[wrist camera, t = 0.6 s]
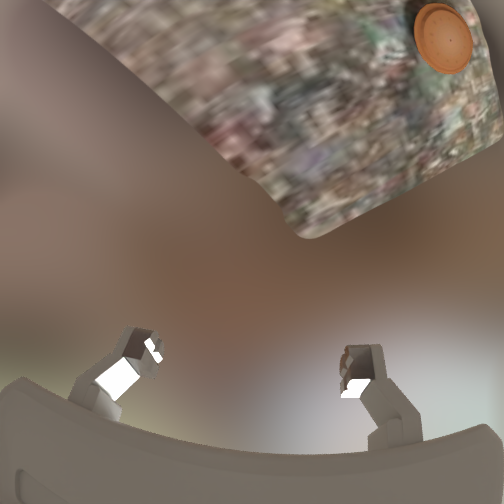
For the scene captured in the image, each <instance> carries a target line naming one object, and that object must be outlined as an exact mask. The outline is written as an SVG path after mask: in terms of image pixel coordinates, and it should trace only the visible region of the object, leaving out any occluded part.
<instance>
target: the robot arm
mask: <svg viewBox="0 0 504 504" xmlns="http://www.w3.org/2000/svg"><path fill="white" fill-rule="evenodd" d="M158 337H159V334H158V333H157V331H154V330H148V329H143V328H138V327H132V326H126V327H125V328H124V330H123V332H122V334H121V336H120V338H119V340H118V342H117V344H116V347H115V349H114V351H113V353H112V354H111V353H109V354H108V355H107V356H105V357H104V358H103V359H101V360H100V361H99V362H98V363H96V364H95V365H93V366H92V367H91V368H90V369H88V370H87V371H85V372H84V373H83V374H81V375H80V376H79V377H77V379H76V381H75V383H74V386H73V388H72V390H71V392H70V395H69V397H68V399H67V400H66V399H64V398H62V397H60V396H58V395H56V394H55V393H52V392H51V391H49V390H47V389H45V388H43V387H42V386H40V385H38V384H36V383H35V382H33V381H31V380H30V379H28V378H26V377H20V378H18V379H16V380H14V381H13V382H11V383H10V384H8V385H7V386H6V387H4V388H3V389H2V391H1V392H0V504H501V502H502V495H503V486H504V485H503V484H504V449H503V444H502V441H501V439H500V438H499V436H498V435H497V434H496V433H495V432H494V431H493V430H492V429H491V428H490V427H489V426H488V425H487V424H480V425H477V426H474V427H471V428H468V429H465V430H462V431H460V432H456V433H453V434H450V435H446V436H443V437H439V438H435V439H432V440H428V441H423V434H422V424H421V416H420V413H419V412H418V411H417V409H416V408H415V407H414V406H413V405H412V403H411V402H410V401H409V400H408V399H407V397H406V396H405V395H404V394H403V393H402V392H401V390H400V389H399V388H398V387H397V386H396V384H395V383H394V382H393V381H392V380H391V379H390V378H388V379H387V373H386V366H385V360H384V354H383V349H382V346H381V345H380V344H372V345H369V344H368V345H347V346H346V347H345V349H344V351H345V354H343V355H342V357H341V360H340V376H341V377H342V378H343V379H342V381H341V383H340V390H341V397H359V399H360V400H361V402H362V403H363V405H364V406H365V408H366V409H367V411H368V412H369V414H370V415H371V417H372V419H373V420H374V422H375V423H376V425H377V426H378V429H376V430H375V431H374V432H372V433H371V434H370V435H369V436H368V451H364V452H354V453H341V454H318V455H294V454H272V453H259V452H248V451H239V450H232V449H225V448H218V447H212V446H207V445H202V444H196V443H192V442H186V441H182V440H178V439H174V438H170V437H166V436H162V435H159V434H155V433H152V432H148V431H145V430H142V429H139V428H135V427H132V426H129V425H127V424H124V423H121V422H118V421H119V418H120V415H121V412H122V407H121V406H120V405H119V404H117V403H116V402H115V400H116V399H117V398H118V397H119V396H120V395H121V394H122V393H123V392H125V391H126V390H127V389H128V388H129V387H130V386H131V385H132V384H133V383H134V382H135V381H136V380H137V379H138V378H139V377H140V376H142V377H147V378H152V379H155V378H156V375H157V372H158V369H159V366H158V362H159V361H160V360H162V358H163V355H164V344H163V342H162V340H160V339H159V338H158Z"/></svg>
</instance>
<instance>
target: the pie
mask: <svg viewBox="0 0 504 504" xmlns="http://www.w3.org/2000/svg"><path fill="white" fill-rule="evenodd" d="M413 29H414V38H415V42H416V46H417V49H418V51H419V53H420V54H421V56H422V58H423V59H424V60H425V61H426V62H427V63H428V64H429V65H430V66H431V67H432V68H434V69H435V70H436V71H438V72H441V73H444V74H455V73H458V72H461V71H462V70H463V69H464V68H465V67H466V66H467V64H468V62H469V60H470V58H471V54H472V48H473V40H472V36H471V33H470V30H469V28H468V26H467V24H466V22H465V21H464V19H463V18H462V16H461V15H460V14H459V13H458V12H457V11H456V10H454V9H453V8H452V7H450V6H448V5H446V4H444V3H431V4H426V5H425V6H424V7H423V8H421V9H420V11H419V12H418V14H417V16H416V18H415V22H414V27H413Z"/></svg>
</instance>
